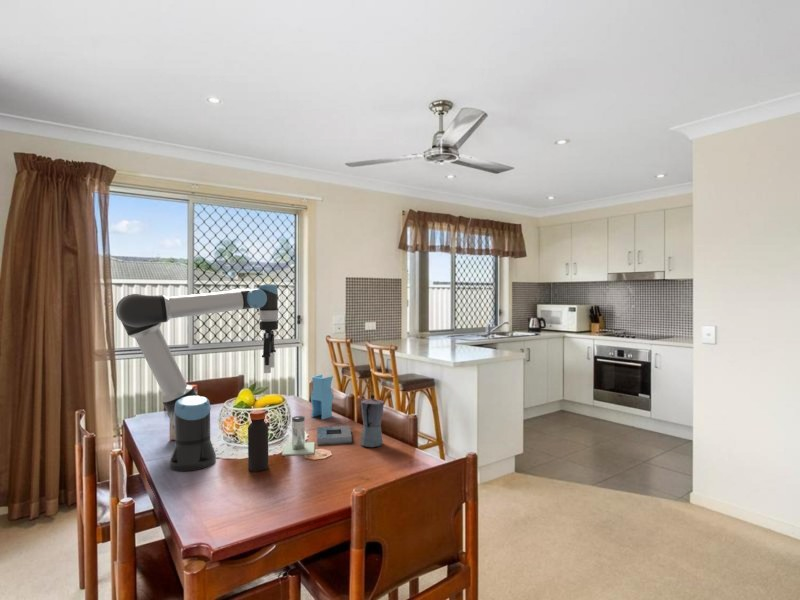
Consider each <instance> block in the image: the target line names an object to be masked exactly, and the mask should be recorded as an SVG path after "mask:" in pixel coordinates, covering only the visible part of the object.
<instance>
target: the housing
mask: <svg viewBox="0 0 800 600" xmlns="http://www.w3.org/2000/svg"><path fill="white" fill-rule="evenodd" d="M316 432H317V433H316V445H317V446H321V445H322V446H323V445H324V446H325V445H339V444H352V442H353V441H352V439H353V438H352V436H353V435H352V432H351V426H350V425H336V426H335V425H333V426H318V427H317V430H316Z"/></svg>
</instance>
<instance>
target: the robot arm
mask: <svg viewBox="0 0 800 600" xmlns="http://www.w3.org/2000/svg"><path fill="white" fill-rule="evenodd" d="M278 298H279V295H278V286H277V285H276V284H268V283H267V284H259V287H258V288H232V289H231V290H228V291H218V292H208V293H206V292H205V293H199V294H196V293H195V294H189V295H188V294H187V295H178V296H177V295H176V296H170V297H169V296H166V295H164V294H158V295H147V294H141V293H132V294H127V295H126V296H124V297H122V298H121V299H120V300H119V301H118V303H117V304H116V305H117V306H116V309H115V310H116V311H115V313H116V316H117V318H118V320H120V322H121V324H122V326H123V328H124V331H125V332H126V334H127V336H128V337H131V338H134V339H135V342H136V343H137V345H138V346H139V348H140V351H141V353H142V355H143V356H144V358H145V361H146V362H147V365H148V366H149V369H150V371H151V372H152V374H153V376H154V379H155V380H156V383H157V385H158V386H159V388H160V390H161V392H162V394H163V396H162V398H161V402H162V404H163V407H164V408H165V410H166V412H167V413H166V415H167V416H168V418H169V420H170V419H171V420H172V421H173V423H174V424H175V440H174V447H173V450H172V454H171V457H170V460H169V468H170V469H171V470H172V471H177V472H191V471H197V470H202V469H205V468H207V467H210V466H212V465H214V464H215V462H216V461H217V456H216V455H217V454H216V451H215V449H214V446H213V443H212V441H211V403H210V402H211V401H210V400H209V399H208V397H205V396H201V395H198V393H197V394H196V392H195V390H194V388H193V386H192V385H193V384H188V383H187V382H186V379H185V378H184V376H183V373H182V372H181V370H180V367H179V365H178V363H177V361H176V360H175V357H174V355H173V353H172V351H171V350H170V348H169V345H168V343H167V341H166V339H165V337H164V335H163V333H162V330H161V328H160V327H161V325H162V323H168V322H169V321H170V320H171V319H175V318H176V319H177V318H178V319H179V318H183V317H193V316H200V315H201V316H202V315H206V314H207V315H209V314H216V313H217V314H218V313H223V312H232V311H239V310H248V309H258V310H259V312H258V313H257V315H258V316H259V320H260V321H259V330H260V331H265V332H264V333H263V349H262V351H263V352H262V353H263V354H262V355H261V358H263V373H264V374H271V372H272V369H273V368H275V353H276V352H277V349H275V332H274V331H276V330H278V329H279V321H278V320H279V309H278V306H279V305H278V304H279V303H278V300H279V299H278Z"/></svg>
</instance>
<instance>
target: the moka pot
mask: <svg viewBox="0 0 800 600" xmlns="http://www.w3.org/2000/svg"><path fill="white" fill-rule="evenodd" d="M384 404H385V402H384V401H383V400H381V399H377V398H375V394H370V398H368V399H364V400H361V401H360V407H361V416H362V421H363V424H362V425H363V427H362V432H361V439H360V445H361V446H362V447H367V448H377V447H381V446H383V443H384V442H383V434H382V426H381V425H382V420H383V412H384V406H385V405H384Z"/></svg>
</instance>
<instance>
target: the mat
mask: <svg viewBox="0 0 800 600" xmlns="http://www.w3.org/2000/svg"><path fill="white" fill-rule="evenodd" d="M315 443H316V442H315V441H312V442H311V441H310V442H309V441H308V442H305V448H304V449H302V450H293V449H292V443H284V444H283V448H282V453H281V457H282V456H284V457H285V456H299V455H301V456H302V455H314V454H315V447H316V446H315Z"/></svg>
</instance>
